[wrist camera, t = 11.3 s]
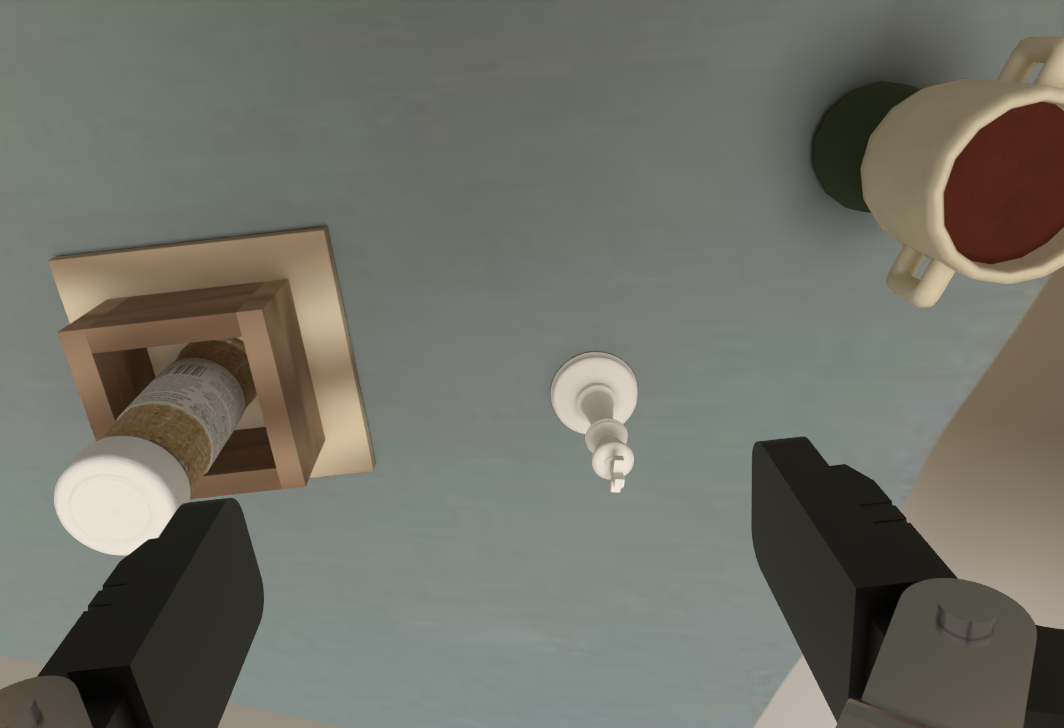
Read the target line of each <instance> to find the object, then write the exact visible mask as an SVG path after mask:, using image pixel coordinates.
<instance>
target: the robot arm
mask: <svg viewBox="0 0 1064 728" xmlns="http://www.w3.org/2000/svg"><path fill="white" fill-rule="evenodd" d="M752 539H753V545H754V550H755V554H756V558H757V561H758V564H759V567H760V569H761V571H762V573H763V575H764V577H765V579H766V581H767V583H768V585H769V587H770V589H771V591H772V593H773V595H774V597H775V599H776V601H777V603H778V605H779V607H780V609H781V611H782V613H783V615H784V617H785V619H786V621H787V623H788V625H789V627H790V629H791V631H792V633H793V635H794V637H795V639H796V641H797V643H798V645H799V647H800V649H801V651H802V653H803V655H804V657H805V659H806V661H807V663H808V665H809V667H810V669H811V671H812V673H813V675H814V677H815V679H816V681H817V683H818V685H819V687H820V689H821V691H822V693H823V695H824V697H825V699H826V701H827V703H828V705H829V707H830V709H831V711H832V713H833V715H834V717H835V719H836V721H837V726H836V728H1064V630H1063V629H1055V628H1049V627H1043V626H1038V625H1035V623H1034V621H1033V620H1032V618H1031V616H1030V615H1029V614H1028V612H1026V610H1025V609H1024V608H1023V607H1022V606H1021V605H1019V604H1018V603H1017V602H1016V601H1014V600H1013V599H1011V598H1010V597H1008V596H1007V595H1005V594H1003V593H1001V592H999V591H998V590H995V589H993V588H991V587H988V586H985V585H982V584H979V583H976V582H972V581H967V580H962V579H958V578H957V577H956V576H955V575H954V573H953V572H952V571H951V570H950V569H949V568H948V567H947V565H946V564H945V563H944V562H943V561H942V559H941V558H940V557H939V556H938V555H937V554H936V553H935V551H934V550H933V549H932V548H931V547H930V545H929V544H928V543H927V542H926V541H925V540H924V539H923V537H922V536H921V535H920V534H919V533H918V531H917V530H916V529H915V528H914V527H913V526H912V524H911V523H907V521H906V517H905V516H904V515H903V514H902V513H901V512H900V510H899V509H898V508H897V507H896V506H895V505H894V506H892V501H891V500H890V499H889V498H888V496H887V495H886V494H885V493H884V492H883V491H882V489H881V488H880V487H879V486H878V485H877V484H876V482H875V481H874V480H872V479H870V478H868V477H867V476H865V475H863V474H861V473H860V472H858V471H856V470H854V469H853V468H851V467H849V466H847V465H845V464H843V465H834V466H829V465H828V464H827V463H826V461H825V460H824V459H823V457H822V456H821V455H820V454H819V452H818V451H817V450H816V448H815V447H814V446H813V445H812V443H811V442H810V441H809V440H808V439H807V438H806V437H795V438H786V439H777V440H768V441H758V442H756V443H755V444H754V447H753V452H752ZM263 605H264V591H263V583H262V578H261V575H260V571H259V568H258V564H257V561H256V557H255V554H254V550H253V547H252V543H251V540H250V536H249V532H248V529H247V525H246V522H245V518H244V515H243V512H242V509H241V507H240V504H239V503H238V501H237V500H236V499H234V498H226V499H216V500H207V501H198V502H189V503H183V504H182V505H180V506H179V508H178V509H177V510H176V512H175V513H174V515H173V516H172V518H171V519H170V521H169V522H168V524H167V525H166V527H165V528H164V530H163V531H162V533H161V534H160V535H159V537H158V538H154V539H148V540H147V541H146V542H144V543H143V544H142V545H141V546H139V547H138V548H137V549H135V550H134V551H133V552H132V553H130V554H129V555H128V556H126V557H125V558H124V559H123V560H121V561H120V562H119V564H118V565H117V566H116V568H115V569H114V571H113V572H112V573H111V575H110V576H109V578H108V579H107V580H106V582H105V583H104V584H103V590H102V591H98V593H97V594H96V596H95V597H94V598H93V600H92V601H91V603H90V604H89V605H88V611H84V612H83V614H82V615H81V616H80V618H79V619H78V621H77V622H76V623H75V625H74V626H73V628H72V629H71V630H70V632H69V633H68V634H67V636H66V637H65V639H64V640H63V641H62V643H61V644H60V646H59V647H58V648H57V650H56V651H55V653H54V654H53V655H52V657H51V658H50V659H49V661H48V662H47V664H46V665H45V667H44V668H43V669H42V671H41V672H40V673H39V675H38V676H37V677H34V678H30V679H26V680H23V681H20V682H17V683H14V684H12V685H9V686H7V687H5V688H2V689H0V728H218V725H219V722H220V720H221V718H222V715H223V713H224V710H225V708H226V705H227V703H228V700H229V698H230V696H231V693H232V691H233V688H234V686H235V683H236V681H237V678H238V676H239V673H240V671H241V668H242V666H243V663H244V661H245V658H246V656H247V654H248V651H249V649H250V646H251V644H252V641H253V639H254V636H255V634H256V631H257V629H258V626H259V624H260V621H261V618H262V613H263Z"/></svg>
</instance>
